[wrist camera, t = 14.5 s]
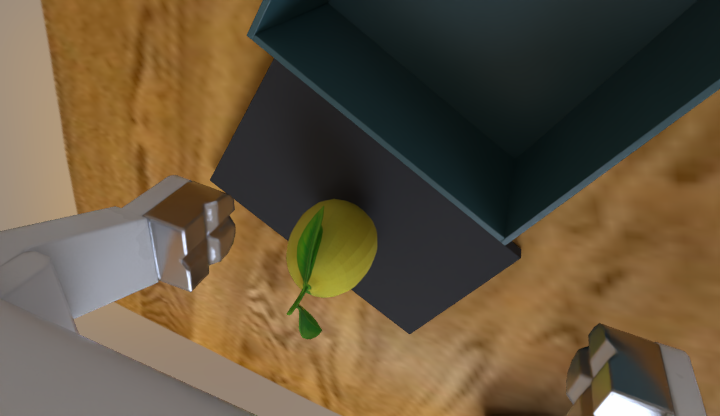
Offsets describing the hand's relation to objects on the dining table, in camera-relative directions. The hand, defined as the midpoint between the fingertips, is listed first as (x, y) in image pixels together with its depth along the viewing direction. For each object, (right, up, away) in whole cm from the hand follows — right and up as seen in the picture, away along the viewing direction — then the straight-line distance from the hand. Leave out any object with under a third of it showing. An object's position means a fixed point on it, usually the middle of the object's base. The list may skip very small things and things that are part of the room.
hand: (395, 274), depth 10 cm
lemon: (-1, +1, +22) cm, 22 cm away
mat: (-1, +1, +23) cm, 23 cm away
